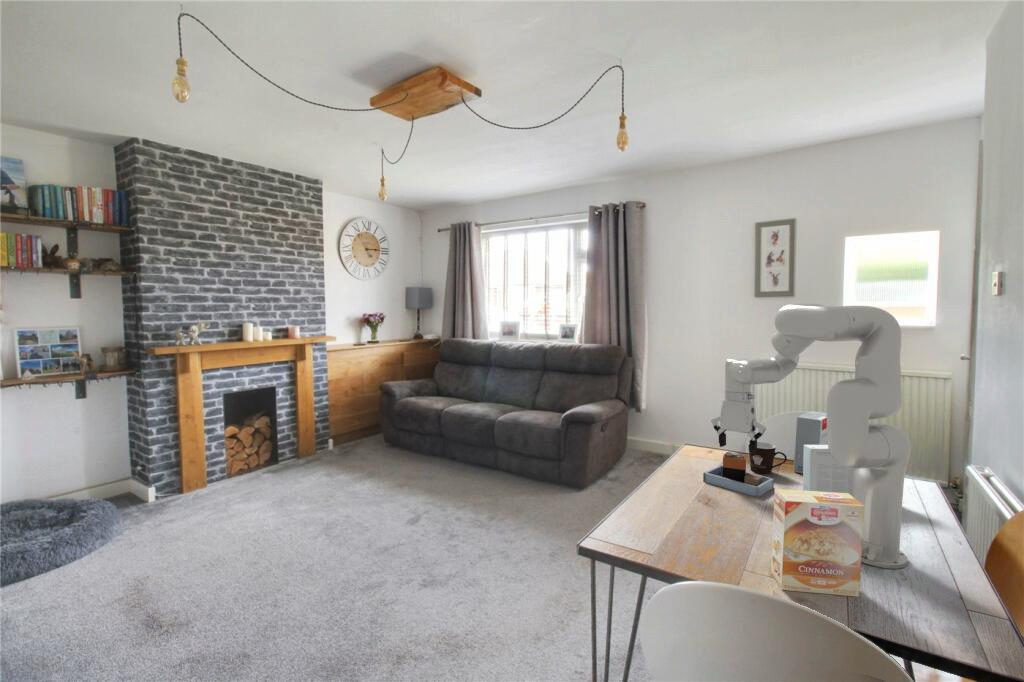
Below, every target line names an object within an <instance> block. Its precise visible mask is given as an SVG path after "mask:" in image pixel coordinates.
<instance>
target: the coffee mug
mask: <svg viewBox="0 0 1024 682" xmlns="http://www.w3.org/2000/svg"><path fill="white" fill-rule="evenodd" d="M748 448H749V442H748ZM776 448H777V446H776V445H775V444H773V443H769V442H765V441H758V440H757V450H756V451H755V452H753V453H750V452H749V451H748V456H749V457H748V458H749V465H750V471H751V473H752V472H753V474H757V475H770V474H772V471H773V469H774V468H776V467H779V466H781V465H784V464H785V463H786V462H787V459H788V458H787V454H785V453H783V452H782V451H777V452H776ZM778 454H780V455H782V456H783V457H784V460H783V461H782V462H780V463H777V464H775V465H773V464H774V458H775V457H776V455H778Z"/></svg>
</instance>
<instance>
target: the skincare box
mask: <svg viewBox="0 0 1024 682" xmlns="http://www.w3.org/2000/svg"><path fill="white" fill-rule="evenodd" d="M854 472H855V469H849V468H845V467H842V466H841V465H839V464H838V463H837V462H835V460H834V459H833V458H832V456H831V454H830V452H829V448H828V445H804V455H803V475H802V490H803V491H819V492H835V493H849V494H850V495H851V496H852V483H853V475H854Z"/></svg>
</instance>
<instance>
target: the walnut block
mask: <svg viewBox="0 0 1024 682" xmlns="http://www.w3.org/2000/svg"><path fill="white" fill-rule="evenodd" d="M754 474H755V473H753V474H748V475H746V476H745V480H744V483H745V484H749V485H753V486H756V487H757V486H758V485H760V484H762V483H763V477H762V476H763V475H761V476H758V475H759V474H757V475H754Z"/></svg>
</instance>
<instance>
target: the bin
mask: <svg viewBox="0 0 1024 682" xmlns="http://www.w3.org/2000/svg"><path fill="white" fill-rule="evenodd" d="M722 472H723V464H720V465H718V466H715V467H713V468H711V469H708V470H707V471H704V472H703V474H702V475H703V478H702V479H703V480H702V481H703V483H704V482H705V483H708V484H712V485H713V486H717V487H721V488H725V489H727V490H731V491H735V492H738V493H741V494H744V495H748V496H752V497H755V498H760V497H761V496H763V495H764V494H766V493H768V492H769V491H771V490H772V489H774V484H775V479H774V478H772V477H769V476H764V475H762V474H758V473H754V472H753V473H752V472H750V471H749V472H748V471H746V475H748V474H754V475H758V476H762V477H763V483H762V484H760V485H758V486H757V487H756V486H753V485H749V484H745V483H742V482H738V481H735V480H731V479H727V478H724V477H722Z"/></svg>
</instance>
